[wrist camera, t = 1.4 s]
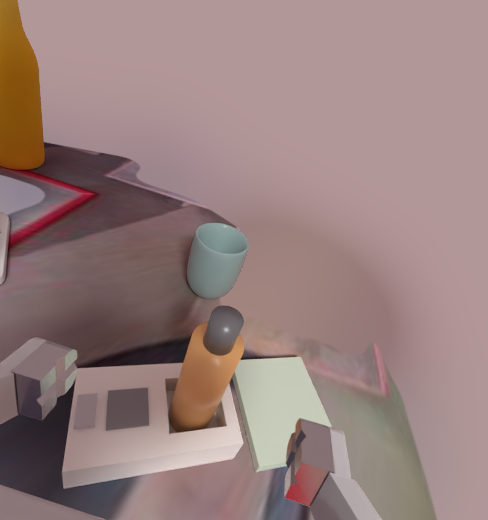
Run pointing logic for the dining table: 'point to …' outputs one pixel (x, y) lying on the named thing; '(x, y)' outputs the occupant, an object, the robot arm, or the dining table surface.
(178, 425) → the orange capped bottle
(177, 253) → the dining table surface
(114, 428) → the white bottle holder
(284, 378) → the mat
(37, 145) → the beer bottle
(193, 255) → the cup
